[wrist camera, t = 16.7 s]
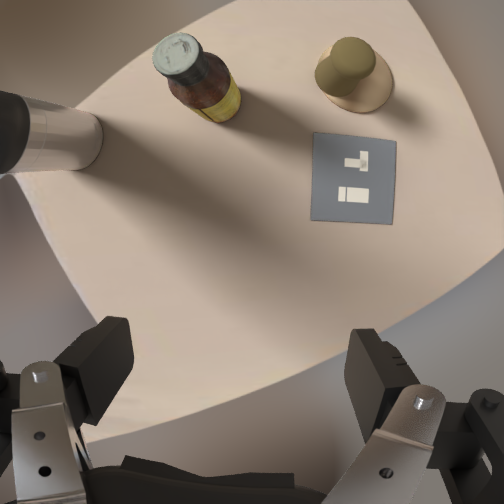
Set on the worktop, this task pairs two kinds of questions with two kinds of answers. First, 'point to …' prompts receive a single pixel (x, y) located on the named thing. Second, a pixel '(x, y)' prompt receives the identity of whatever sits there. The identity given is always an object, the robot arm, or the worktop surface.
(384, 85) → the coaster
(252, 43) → the worktop surface
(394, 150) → the tile
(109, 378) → the robot arm
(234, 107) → the sauce bottle
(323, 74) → the pepper shaker
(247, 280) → the worktop surface
